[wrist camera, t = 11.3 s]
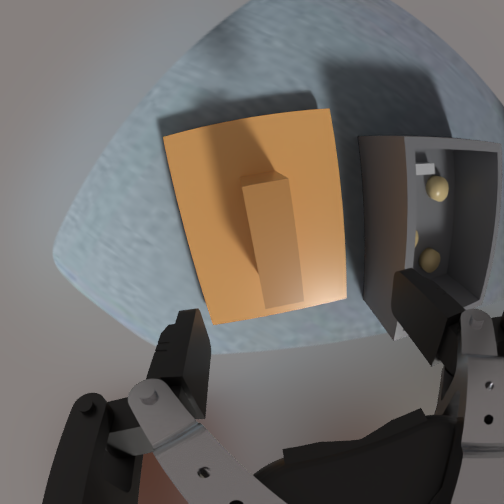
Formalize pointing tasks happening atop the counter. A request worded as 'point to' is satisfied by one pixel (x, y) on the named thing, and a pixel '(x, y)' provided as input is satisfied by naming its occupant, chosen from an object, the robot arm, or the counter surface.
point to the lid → (262, 212)
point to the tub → (429, 216)
